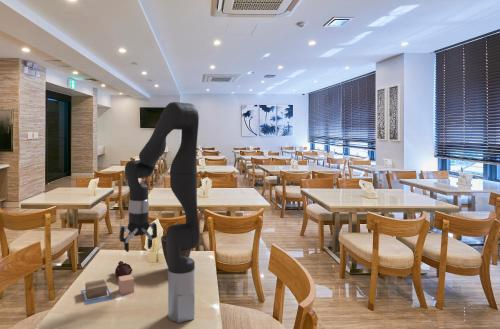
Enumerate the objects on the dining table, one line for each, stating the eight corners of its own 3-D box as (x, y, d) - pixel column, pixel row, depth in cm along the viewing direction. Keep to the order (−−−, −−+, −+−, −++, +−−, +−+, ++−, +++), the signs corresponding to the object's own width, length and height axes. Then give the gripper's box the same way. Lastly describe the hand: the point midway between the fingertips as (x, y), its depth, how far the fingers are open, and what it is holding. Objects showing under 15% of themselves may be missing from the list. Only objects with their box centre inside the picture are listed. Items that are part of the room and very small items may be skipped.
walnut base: (107, 295, 142) (106, 285, 142) (87, 299, 139) (87, 289, 138) (104, 288, 148) (103, 279, 148) (85, 292, 145) (85, 282, 144)
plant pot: (158, 266, 174) (158, 234, 173) (188, 262, 181) (188, 231, 179) (164, 277, 161) (164, 243, 160) (196, 272, 167) (196, 239, 166)
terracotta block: (134, 293, 146) (133, 278, 145) (121, 295, 143) (120, 281, 143) (131, 288, 150) (131, 274, 149) (118, 290, 147) (118, 276, 147)
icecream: (138, 267, 156) (128, 259, 169) (121, 266, 152) (112, 258, 165) (134, 283, 155) (125, 274, 168) (117, 282, 151) (109, 274, 164)
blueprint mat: (113, 300, 139) (113, 298, 139) (84, 306, 134) (84, 304, 134) (107, 286, 151) (106, 285, 151) (80, 291, 146) (80, 290, 146)
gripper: (121, 214, 135) (121, 255, 137) (159, 211, 142) (158, 250, 144) (118, 209, 142) (118, 249, 144) (154, 206, 149) (153, 244, 151)
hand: (138, 249), depth 144 cm, fingers open, 8 cm apart
